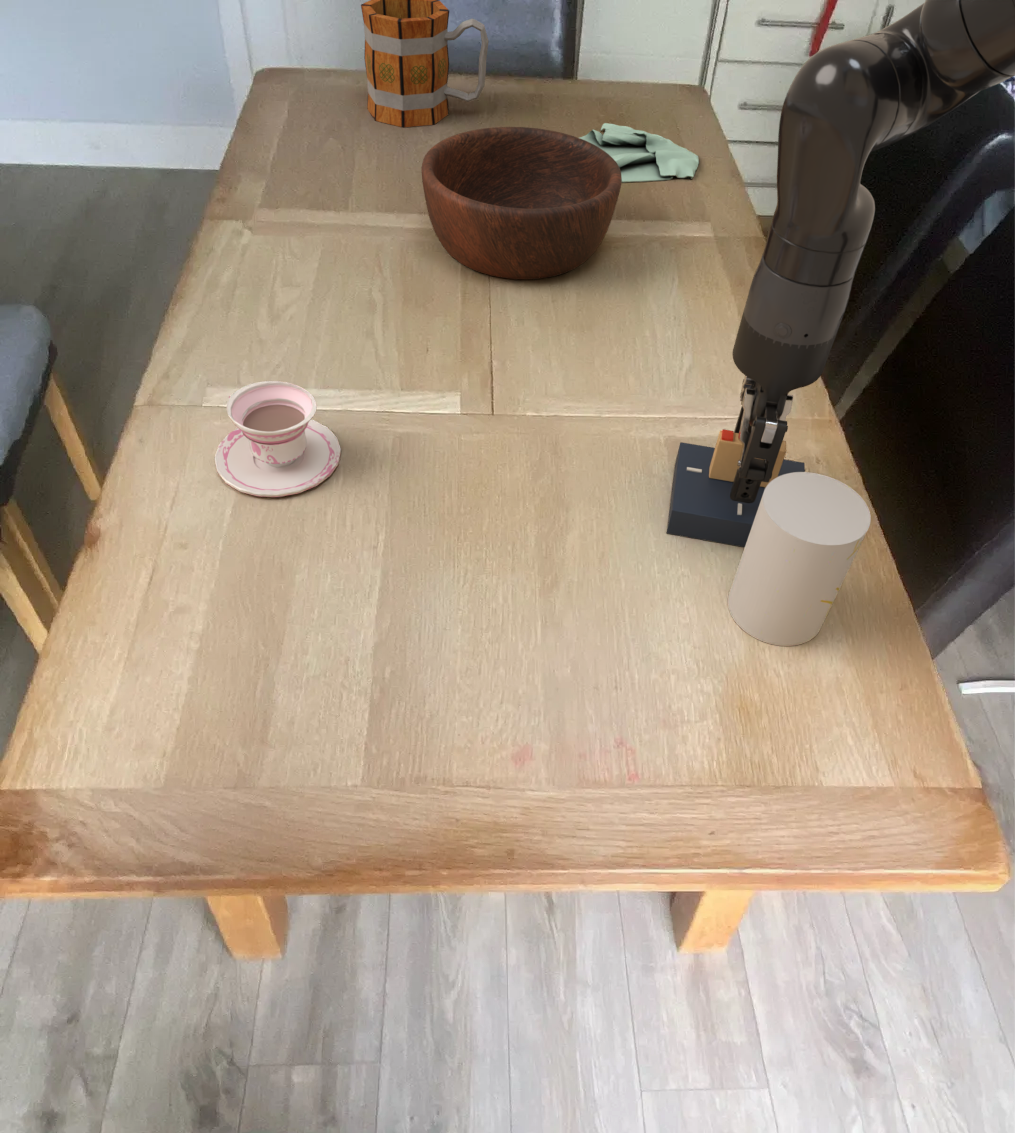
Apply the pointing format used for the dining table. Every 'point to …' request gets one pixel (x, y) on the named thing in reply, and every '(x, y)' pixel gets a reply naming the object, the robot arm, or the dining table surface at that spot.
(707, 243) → the dining table surface
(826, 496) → the beige solid cylinder
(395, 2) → the mug
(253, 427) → the teacup
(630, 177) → the cloth
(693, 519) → the console
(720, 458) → the tan rectangular block
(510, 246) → the wooden bowl
